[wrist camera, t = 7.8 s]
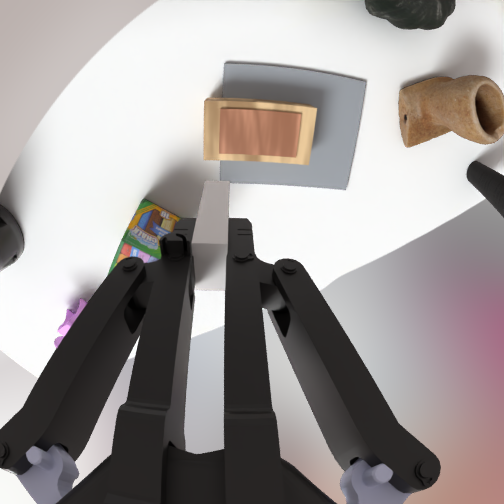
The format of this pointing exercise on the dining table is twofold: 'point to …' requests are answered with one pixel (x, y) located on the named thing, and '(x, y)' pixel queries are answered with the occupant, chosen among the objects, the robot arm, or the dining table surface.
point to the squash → (412, 12)
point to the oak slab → (258, 130)
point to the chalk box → (145, 233)
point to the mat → (325, 132)
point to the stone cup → (452, 109)
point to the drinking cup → (487, 184)
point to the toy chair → (69, 322)
